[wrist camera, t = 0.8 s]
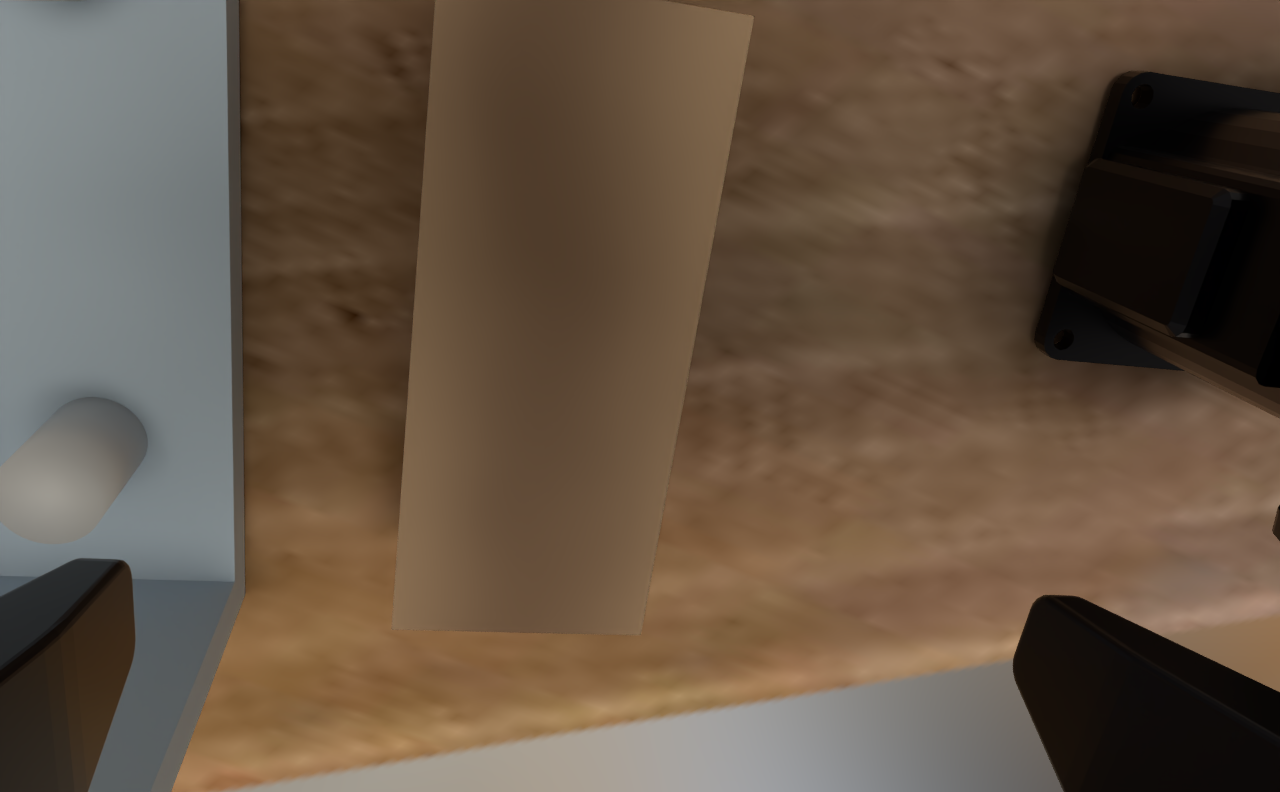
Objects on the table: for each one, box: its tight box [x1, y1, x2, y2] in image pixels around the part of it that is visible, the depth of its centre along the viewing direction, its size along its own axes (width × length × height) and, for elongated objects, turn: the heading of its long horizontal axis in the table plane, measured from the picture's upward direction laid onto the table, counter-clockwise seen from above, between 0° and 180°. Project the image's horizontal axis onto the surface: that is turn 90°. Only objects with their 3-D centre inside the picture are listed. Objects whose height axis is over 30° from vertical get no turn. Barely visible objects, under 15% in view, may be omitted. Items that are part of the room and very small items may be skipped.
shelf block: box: [392, 0, 754, 635], centre depth 18 cm, size 5×12×4 cm, turn 171°
